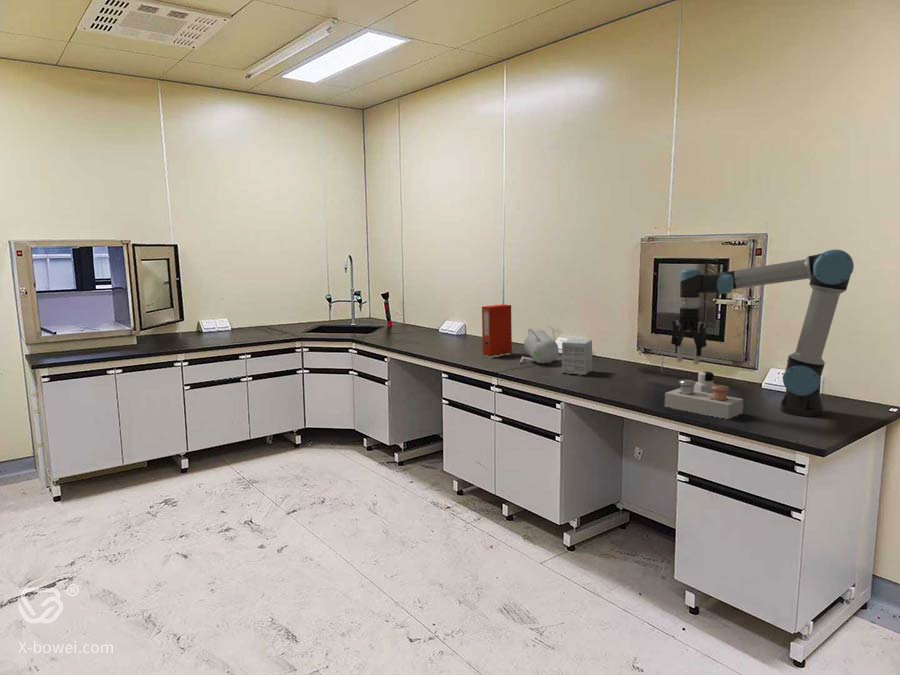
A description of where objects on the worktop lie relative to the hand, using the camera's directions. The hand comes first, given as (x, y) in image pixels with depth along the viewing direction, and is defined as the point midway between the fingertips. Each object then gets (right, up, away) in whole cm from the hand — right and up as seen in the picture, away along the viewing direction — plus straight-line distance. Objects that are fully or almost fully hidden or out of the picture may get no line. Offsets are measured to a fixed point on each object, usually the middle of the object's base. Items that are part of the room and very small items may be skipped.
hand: (687, 362), depth 246 cm
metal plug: (+1, -15, +2) cm, 16 cm away
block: (+5, -19, -3) cm, 20 cm away
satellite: (-44, -5, +105) cm, 114 cm away
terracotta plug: (+9, -17, -8) cm, 21 cm away
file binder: (-69, -2, +131) cm, 148 cm away
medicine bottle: (+13, -17, +14) cm, 26 cm away
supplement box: (-30, -9, +75) cm, 81 cm away
